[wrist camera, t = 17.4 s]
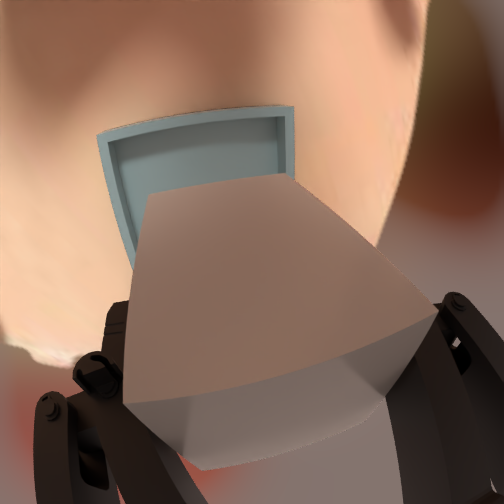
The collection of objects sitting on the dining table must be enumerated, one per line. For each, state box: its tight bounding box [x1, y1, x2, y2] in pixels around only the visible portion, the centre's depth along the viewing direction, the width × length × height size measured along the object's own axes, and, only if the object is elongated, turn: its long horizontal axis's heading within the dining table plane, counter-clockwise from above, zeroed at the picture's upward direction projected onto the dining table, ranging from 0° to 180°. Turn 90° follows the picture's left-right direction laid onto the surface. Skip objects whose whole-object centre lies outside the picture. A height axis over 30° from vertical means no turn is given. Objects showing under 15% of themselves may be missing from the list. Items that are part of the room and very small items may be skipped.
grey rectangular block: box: [123, 173, 439, 471], centre depth 9 cm, size 6×6×9 cm
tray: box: [96, 105, 295, 269], centre depth 24 cm, size 16×20×3 cm
